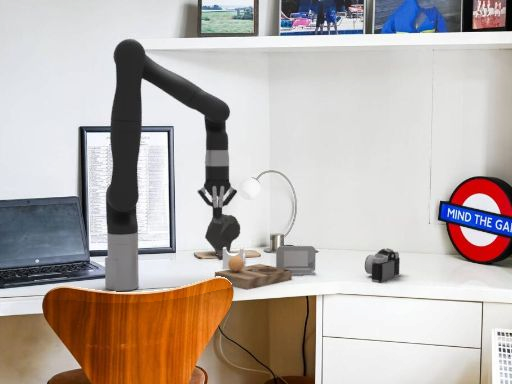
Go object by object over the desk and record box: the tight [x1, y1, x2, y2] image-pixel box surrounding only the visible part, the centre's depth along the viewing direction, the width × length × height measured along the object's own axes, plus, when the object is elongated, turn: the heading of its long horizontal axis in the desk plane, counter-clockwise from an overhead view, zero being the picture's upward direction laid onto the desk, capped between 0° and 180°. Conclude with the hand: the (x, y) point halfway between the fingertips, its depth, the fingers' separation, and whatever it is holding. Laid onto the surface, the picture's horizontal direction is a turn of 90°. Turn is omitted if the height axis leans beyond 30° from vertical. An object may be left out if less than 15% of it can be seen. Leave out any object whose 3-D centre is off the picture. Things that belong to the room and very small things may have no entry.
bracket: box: [222, 247, 247, 270], centre depth 240 cm, size 13×7×8 cm, turn 177°
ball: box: [228, 256, 245, 272], centre depth 215 cm, size 5×5×5 cm
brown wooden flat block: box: [214, 263, 293, 290], centre depth 216 cm, size 20×15×3 cm
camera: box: [364, 247, 401, 283], centre depth 221 cm, size 16×9×10 cm, turn 140°
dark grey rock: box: [204, 213, 241, 261], centre depth 256 cm, size 14×15×18 cm
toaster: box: [275, 245, 316, 277], centre depth 228 cm, size 13×9×10 cm
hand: (217, 219), depth 212 cm, fingers closed
